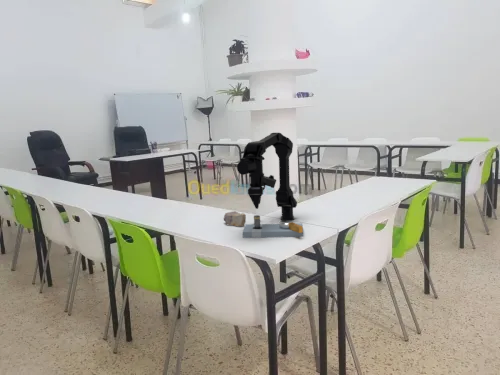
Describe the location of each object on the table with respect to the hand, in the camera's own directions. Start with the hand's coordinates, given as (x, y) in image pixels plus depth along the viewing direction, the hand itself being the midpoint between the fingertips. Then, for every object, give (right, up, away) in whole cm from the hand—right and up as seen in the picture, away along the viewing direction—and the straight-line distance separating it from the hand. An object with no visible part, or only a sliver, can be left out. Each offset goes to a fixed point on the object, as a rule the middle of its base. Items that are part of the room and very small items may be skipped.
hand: (257, 206), depth 172 cm
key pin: (0, -12, +2) cm, 12 cm away
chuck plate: (+7, -12, +1) cm, 14 cm away
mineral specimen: (-11, -10, +18) cm, 23 cm away
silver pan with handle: (+15, -10, -4) cm, 18 cm away
